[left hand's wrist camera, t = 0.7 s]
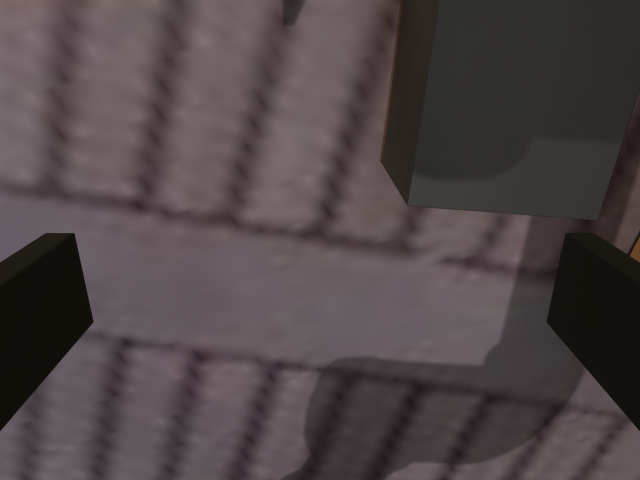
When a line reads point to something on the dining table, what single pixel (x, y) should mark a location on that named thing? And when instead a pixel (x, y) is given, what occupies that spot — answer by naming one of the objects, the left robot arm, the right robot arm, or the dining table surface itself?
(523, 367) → the dining table surface
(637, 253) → the organizer
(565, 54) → the dark grey box
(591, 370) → the left robot arm
